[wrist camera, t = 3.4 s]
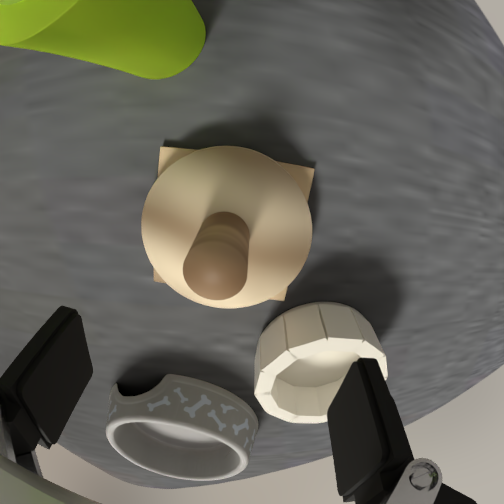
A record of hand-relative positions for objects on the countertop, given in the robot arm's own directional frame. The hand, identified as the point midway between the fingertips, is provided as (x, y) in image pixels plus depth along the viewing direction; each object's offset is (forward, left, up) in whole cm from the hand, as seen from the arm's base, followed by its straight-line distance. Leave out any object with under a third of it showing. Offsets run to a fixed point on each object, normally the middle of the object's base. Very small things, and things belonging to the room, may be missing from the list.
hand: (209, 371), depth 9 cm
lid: (0, -1, -12) cm, 12 cm away
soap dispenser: (-12, -7, -13) cm, 19 cm away
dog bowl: (+25, -3, -13) cm, 28 cm away
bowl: (+10, +8, -13) cm, 18 cm away
